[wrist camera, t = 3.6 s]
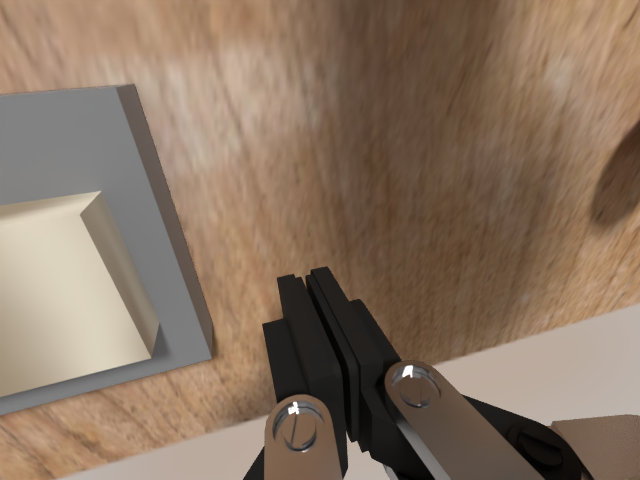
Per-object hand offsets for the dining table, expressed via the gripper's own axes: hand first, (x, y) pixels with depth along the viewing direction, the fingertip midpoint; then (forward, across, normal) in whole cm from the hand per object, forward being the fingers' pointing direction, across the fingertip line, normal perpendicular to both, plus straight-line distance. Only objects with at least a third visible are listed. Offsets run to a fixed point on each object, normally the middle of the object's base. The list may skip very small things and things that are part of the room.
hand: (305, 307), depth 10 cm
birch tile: (+4, +10, -1) cm, 10 cm away
